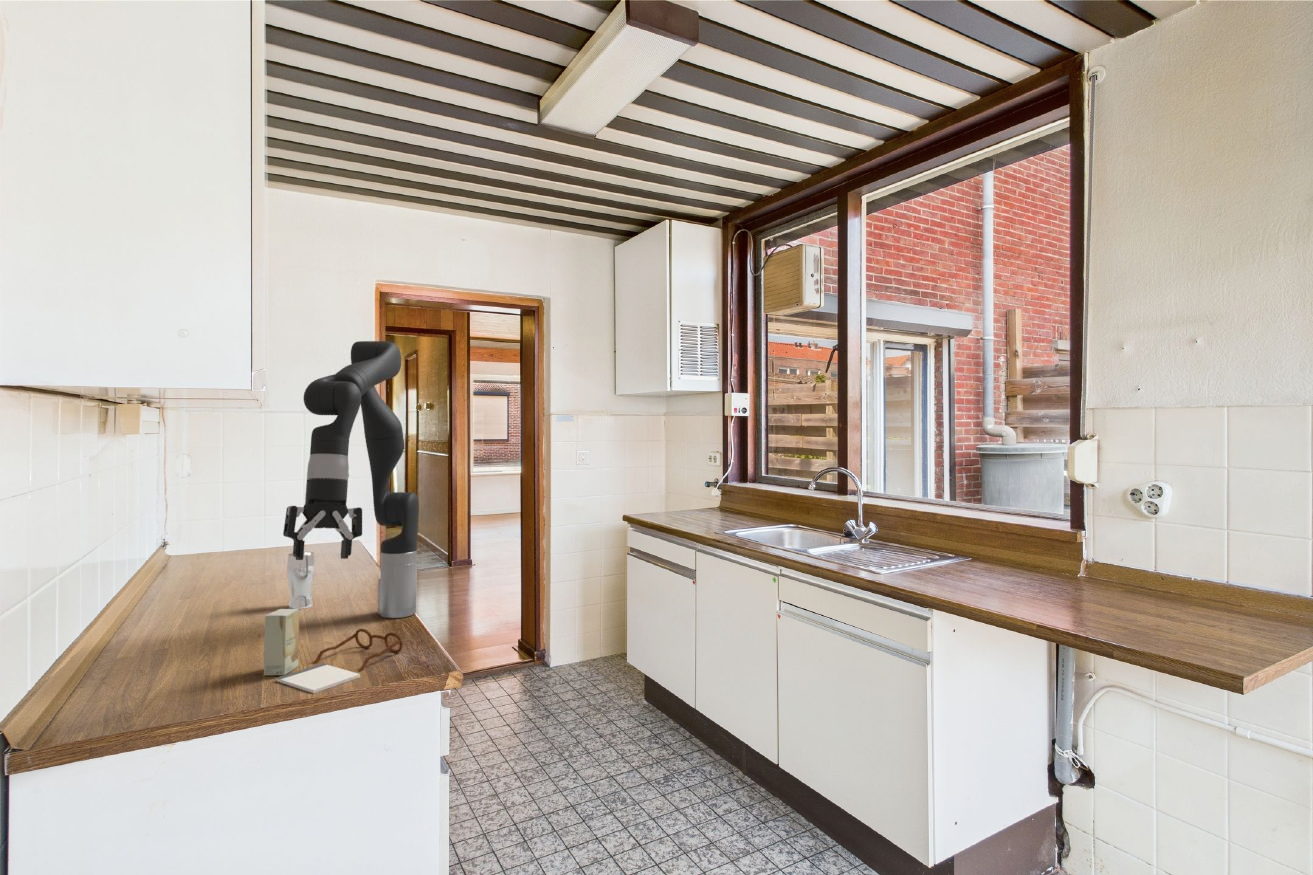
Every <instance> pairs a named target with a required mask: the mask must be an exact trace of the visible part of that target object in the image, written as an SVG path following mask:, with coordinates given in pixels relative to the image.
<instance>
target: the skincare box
mask: <svg viewBox="0 0 1313 875" xmlns="http://www.w3.org/2000/svg"><path fill="white" fill-rule="evenodd" d="M299 623H300V609H290V608H279V609H276V610H274V611H272V612H270V613H269V614H266V615H265V616H264V646H263V647H264V648H263V649H264V651H263V653H264V654H263V659H264V662H263V676H284V675H287V674H290V673H291V672H292V671H293V670H295V669H296V668H297V667H299V636H300V634H299V633H300V632H299V630H300V624H299Z"/></svg>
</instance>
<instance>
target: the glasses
mask: <svg viewBox="0 0 1313 875" xmlns="http://www.w3.org/2000/svg"><path fill="white" fill-rule="evenodd" d="M360 632H361V633H365V634H366V635H367V637H368V639H369V642H368V643H369V644H367V645H366V644H365V645H364V644H362V642H360V639H359V633H360ZM390 636H392V637H395V638H396V639H397V640H396V641H395V642H393V643H391V644H390V645H389V641H388V638H389V637H390ZM353 639H355V642H356V644H357V645H358V646H359V647H360V648H363V649H369V648H371V647H372V646H373V642H374V640H373V639H381V640H384V644H385V647H386V648H384V649H383V650H382V651H380V652H378V653H374V654H371V655H370V656H368V657H366V658H365V660H364V662H363V663H362V665H361V667H360V668H359V670H358V673H359V672H360V673H361V672H363V671H364V670H365V669H366V666H367V664H368V663H369V661H370V660H372V659H374V658H378V657H381V656H383V655H384V654H386V653H387V652H388V651H390V652H391V653H396V652H398V653H400V652H401V651H402V650H403V644H404V643H403V640H402V637H401V636H400V635H398V634H397V633H395V632H389V633H387V634H386V635H381V634H371V632H370V631H368V630H367V629H365V628H359V629H357V630H356V632H355V633H354V634H353V635H351V636H349V637H348V638H346V639H345V640H343V641H341V642H340V643H338V644H337V645H335V646H332V647H331V646H329V647H327V648H324V649H322V650H320V652H319V653H318V655H317V657H316V659H315V661H314V662H313V665H318V663H319V661H320V660H321V658H322V657H323V655H324V653H326V652H329V651H333V650H337V649H339V648H340V647H342V646H344V645H346V643H348V642H350V641H352V640H353ZM398 644H399V646H398V648H397V649H394V647H396V646H397V645H398Z"/></svg>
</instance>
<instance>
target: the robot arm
mask: <svg viewBox="0 0 1313 875" xmlns="http://www.w3.org/2000/svg"><path fill="white" fill-rule="evenodd" d="M350 363H351V364H348V365H346V366H344V367H343V368H341V369H340V370H339V371H337V372H336V373H334V374H330V375H327V376H323V377H319V378H318V379H314V380H313V381H312V382H310V383H309V384H308V385H307V387H306V388H305V390H304V393H303V403H304V406H305V408H306V409H307V410H308V411H309V412H310V413H311V414H313V415H317V416H336V418H334V420H333V421H332V422H331V423H329V424H324V425H320V426H316V427H314V428H313V430H312V431H311V437H310V438H311V439H310V451H309V454H310V455H309V460H308V463H307V473H306V485H305V486H306V487H305V498H304V500H305V501H304V505H303V507H301V506H296V505H289V506H287V508H286V510H285V517H284V526H283V533H282V534H283V537H285V538H289V539H291V540H293V546H292V548H293V549H292V553H293V556H294V557H296V560H303V557H304V552H305V542H306V541H305V540H304V538H305V537H306V536H307V535H308V534H309V532H311V531H312V530H313V529H335V531H336V532H337V533H339V536H340V537H341V538H342V539H343V540H341V543H340V544H341V547H340V559H341V560H342V559H343V560H347V559H349V556H351V554H352V548H353V546H352V544H353V540H354V539H355V538H359V537H362V536H363V508H362V507H360V506H359V507H353V508H348V506H347V502H348V501H347V500H348V499H347V498H348V487H349V486H348V484H349V483H348V482H349V478H350V477H349V476H350V474H349V473H350V472H349V470H350V468H349V467H350V466H349V449H350V448H349V447H350V437H351V433H352V430H353V426H354V423H355V420H356V418H357V416H358V413H359V411H360V408H361V414H362V423H363V429H364V430H363V431H364V432H363V433H364V439H365V445H366V446H365V447H366V452H367V456H368V461H369V462H368V463H369V468H370V475H371V484H372V485H371V486H372V498H373V500H372V502H373V512H374V517H375V521H376V522H377V524H378V525H380V526H383V527H402V528H401V532H400V533H399V534H397V535H395V536H393V537H390V538H386V539H385V540H382V541H381V543H380V578H379V579H378V585H377V586H378V587H377V588H378V590H377V591H378V592H377V593H378V595H377V596H378V597H377V613H378V615H380V617H382V618H386V619H399V618H400V619H401V618H406V617H411V616H413V615H415V614H416V613H417V595H418V594H417V584H418V583H417V580H418V578H417V577H418V576H417V571H418V570H417V569H418V568H417V567H418V566H417V565H418V563H417V562H418V560H417V558H418V557H417V554H418V553H417V549H418V547H417V546H418V536H419V535H418V534H419V533H418V531H419V529H418V528H419V517H420V516H419V515H420V514H419V513H420V502H419V497H418V495H417V494H416V493H415V492H409V491H407V492H401V491H400V492H399V491H397V492H395V491H394V492H392V491H390V487H389V485H390V484H389V483H390V482H389V481H390V479H391V476H392V474H393V471H394V470H395V468H396V466H397V464H398V462H400V460H401V457H403V456H402V455H403V453H404V450H405V438H404V432H403V426H402V423H401V421H400V418H398V416H397V415H396V413H395V412H394V411H393V410H392V409H391V408H390V406H388V404H387V403H386V402H385V401H384V400H383V398H382V397H381V395H380V394H379V392H378V390H377V387H376V386H377V385H379V384H380V383H383V382H385V381H387V380H389V379H392V378H393V379H394V378H395V377H396V376H398V374H399V373H400V371H401V367H402V353H401V351H400V348H399V346H398V345H397V343H395V342H392V341H386V340H378V341H377V340H367V341H366V340H361V341H360V340H359V341H356V342H354V343H353V344H352V346H351V349H350ZM301 514H302V515H303V516H304V518H305V521H304V522H303V523H302V524H301V525H300V526H299V528H298V530H296V524H297V518H299V517H300V516H301ZM347 515H348V517H349V519H351V530H350V529H349V526H348V524H347V523H346V522H345V521H344V519H345V518H346V516H347ZM411 610H412V611H413V612H412V611H411ZM413 613H414V614H413Z"/></svg>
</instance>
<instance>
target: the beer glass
mask: <svg viewBox="0 0 1313 875" xmlns="http://www.w3.org/2000/svg"><path fill="white" fill-rule="evenodd" d="M286 566H287V567H286V572H287V573H286V574H287V582H288V587H289V593H290V596H289V602H288V609H299V610H303V609H308V608H311V607H313V606H314V603H313V598H312V589H313V584H314V579H315V571H316V564H315V553H314V552H313V551H304V557H303V560H296V557H294V556H293V552H290V553H289V554H287V565H286Z"/></svg>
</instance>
